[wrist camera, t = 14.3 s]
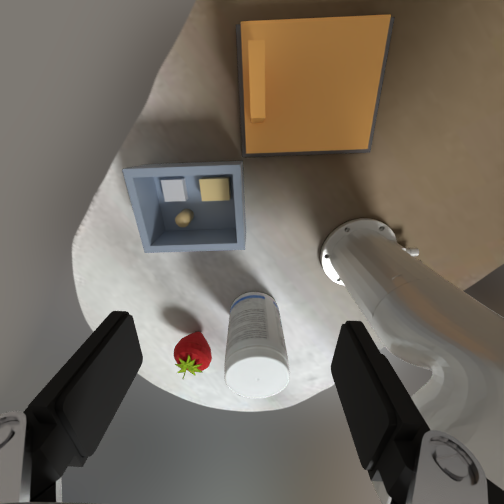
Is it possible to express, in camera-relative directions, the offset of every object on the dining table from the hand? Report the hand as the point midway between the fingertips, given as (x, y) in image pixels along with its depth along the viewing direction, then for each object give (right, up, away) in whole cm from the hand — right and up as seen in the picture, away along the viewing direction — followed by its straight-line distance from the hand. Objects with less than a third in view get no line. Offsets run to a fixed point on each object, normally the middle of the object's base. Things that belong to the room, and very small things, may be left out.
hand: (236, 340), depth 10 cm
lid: (+8, +24, +17) cm, 30 cm away
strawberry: (-10, -13, +37) cm, 41 cm away
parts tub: (-7, +12, +25) cm, 29 cm away
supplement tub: (+1, -7, +35) cm, 35 cm away
